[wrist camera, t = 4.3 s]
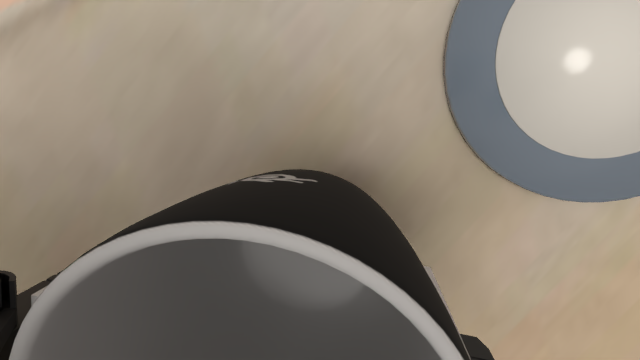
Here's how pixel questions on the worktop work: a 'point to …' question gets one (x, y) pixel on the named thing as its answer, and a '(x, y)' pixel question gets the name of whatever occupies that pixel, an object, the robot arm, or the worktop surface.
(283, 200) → the mug
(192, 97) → the worktop surface
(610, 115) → the saucer
